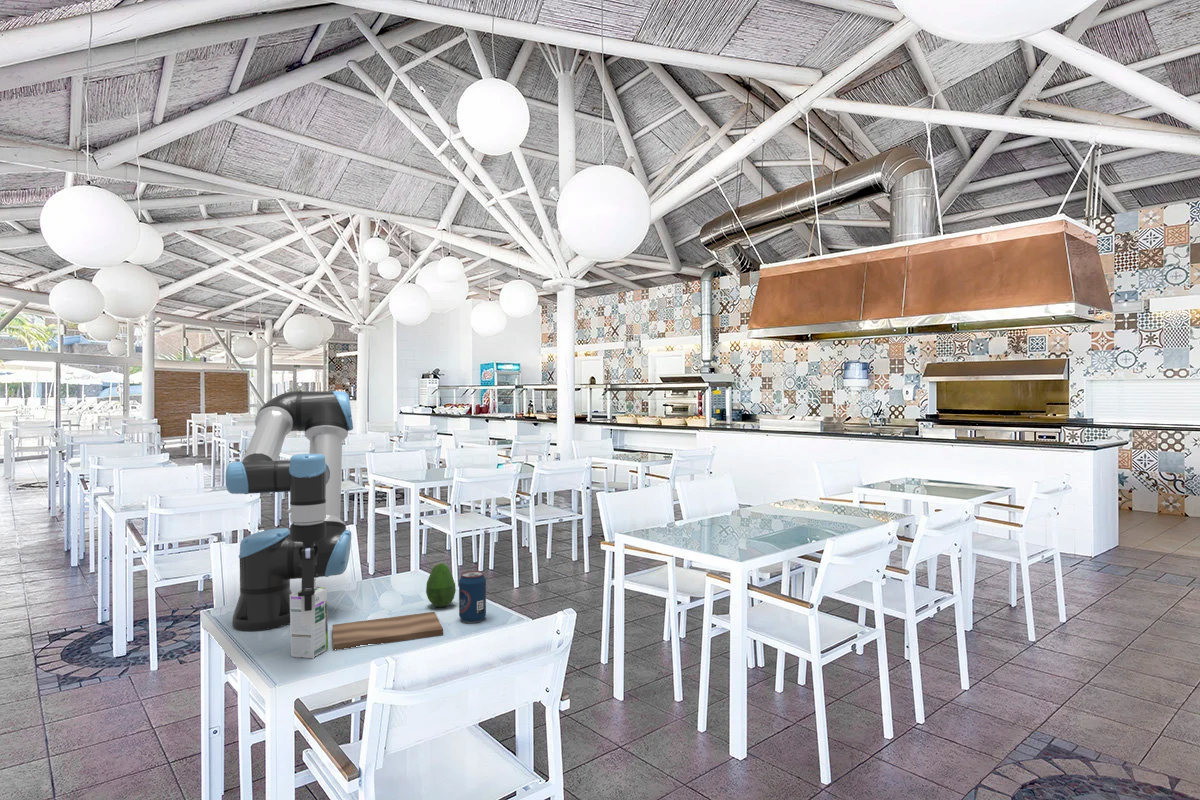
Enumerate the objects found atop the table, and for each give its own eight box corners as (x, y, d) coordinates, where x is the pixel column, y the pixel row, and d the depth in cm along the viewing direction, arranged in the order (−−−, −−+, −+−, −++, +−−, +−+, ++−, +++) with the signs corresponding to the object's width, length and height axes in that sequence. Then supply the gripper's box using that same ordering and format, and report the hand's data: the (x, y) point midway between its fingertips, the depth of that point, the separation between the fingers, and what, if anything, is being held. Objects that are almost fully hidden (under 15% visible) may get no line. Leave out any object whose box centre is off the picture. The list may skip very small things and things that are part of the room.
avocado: (443, 600, 190) (443, 558, 190) (461, 605, 185) (460, 562, 185) (420, 607, 184) (419, 563, 184) (437, 613, 179) (437, 568, 179)
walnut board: (332, 630, 166) (332, 624, 166) (434, 617, 175) (434, 611, 175) (333, 650, 153) (333, 644, 153) (443, 635, 162) (443, 628, 162)
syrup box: (313, 659, 148) (312, 594, 148) (289, 657, 149) (289, 593, 149) (328, 649, 154) (328, 587, 153) (305, 647, 155) (305, 585, 155)
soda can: (453, 619, 174) (453, 573, 174) (476, 613, 179) (475, 568, 179) (469, 625, 169) (468, 578, 169) (491, 619, 174) (491, 573, 174)
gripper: (292, 514, 161) (293, 602, 161) (287, 533, 138) (287, 635, 138) (325, 512, 164) (326, 598, 164) (326, 530, 141) (327, 630, 141)
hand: (308, 615), depth 151 cm, fingers open, 13 cm apart
